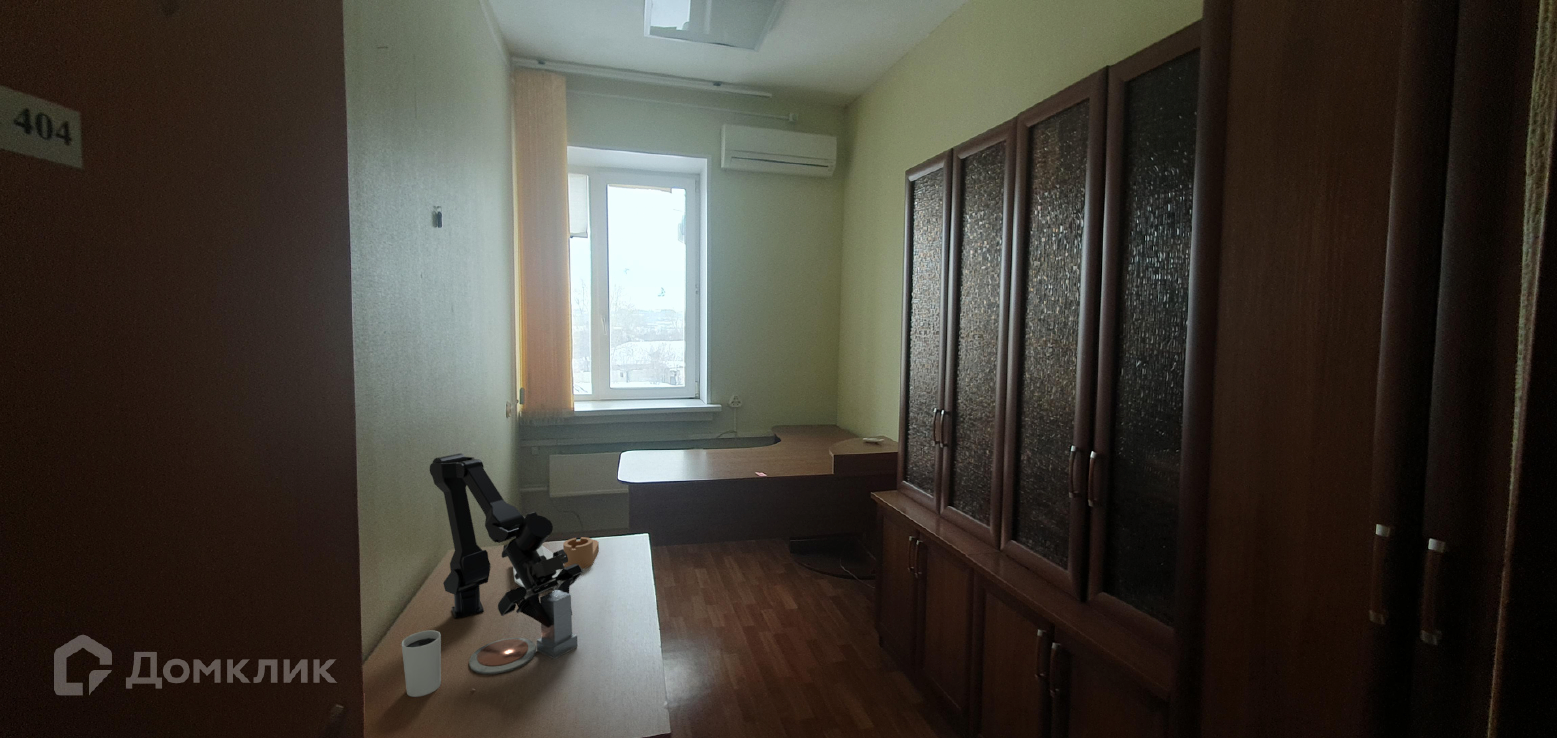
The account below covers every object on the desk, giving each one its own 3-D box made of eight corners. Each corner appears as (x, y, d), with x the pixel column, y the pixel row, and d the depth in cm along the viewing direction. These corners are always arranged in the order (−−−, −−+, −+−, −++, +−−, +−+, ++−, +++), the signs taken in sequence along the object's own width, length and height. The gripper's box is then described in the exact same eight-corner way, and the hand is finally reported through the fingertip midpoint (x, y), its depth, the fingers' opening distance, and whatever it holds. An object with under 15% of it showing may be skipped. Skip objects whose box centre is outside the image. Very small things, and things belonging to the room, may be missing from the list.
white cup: (415, 678, 122) (412, 631, 121) (449, 677, 122) (447, 629, 122) (396, 699, 115) (394, 648, 114) (433, 697, 116) (430, 647, 115)
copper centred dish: (465, 652, 131) (465, 647, 131) (528, 635, 139) (528, 629, 138) (474, 681, 121) (473, 675, 120) (542, 661, 128) (541, 655, 128)
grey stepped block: (536, 650, 132) (534, 597, 131) (559, 638, 137) (558, 587, 136) (554, 658, 129) (552, 604, 128) (577, 646, 134) (575, 593, 133)
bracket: (590, 569, 176) (589, 546, 176) (561, 571, 175) (560, 547, 175) (600, 547, 194) (600, 526, 194) (574, 548, 193) (573, 527, 193)
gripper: (503, 555, 125) (539, 620, 120) (576, 529, 141) (610, 585, 136) (482, 584, 130) (516, 647, 125) (555, 555, 146) (588, 611, 141)
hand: (560, 621), depth 132 cm, fingers open, 5 cm apart
